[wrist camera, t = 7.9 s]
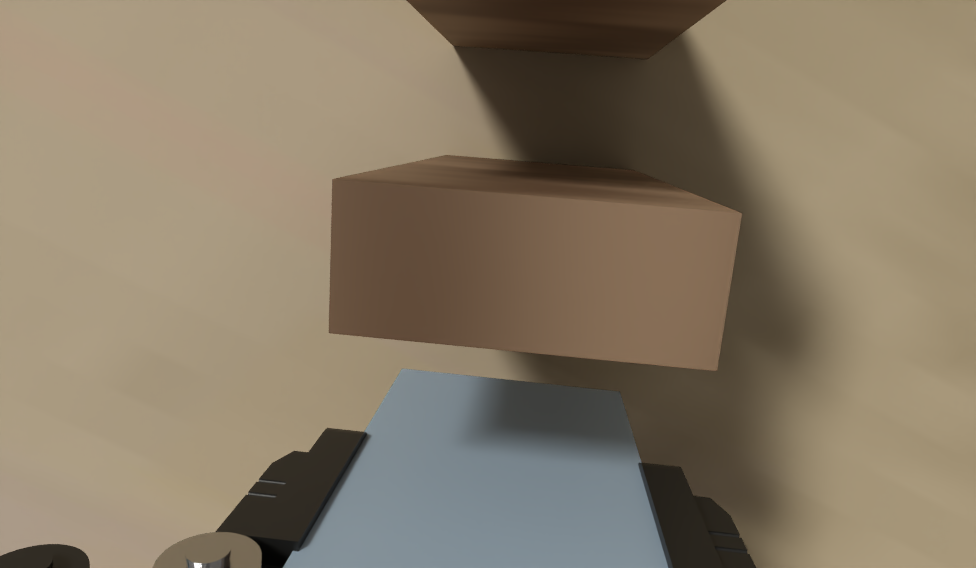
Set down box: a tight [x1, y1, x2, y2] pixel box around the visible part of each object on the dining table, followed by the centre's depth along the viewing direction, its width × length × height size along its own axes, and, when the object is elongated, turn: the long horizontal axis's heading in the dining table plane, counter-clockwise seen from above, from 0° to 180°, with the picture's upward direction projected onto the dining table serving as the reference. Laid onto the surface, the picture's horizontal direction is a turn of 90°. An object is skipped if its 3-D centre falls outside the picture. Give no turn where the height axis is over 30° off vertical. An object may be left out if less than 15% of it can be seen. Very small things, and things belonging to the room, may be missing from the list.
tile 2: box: [329, 155, 742, 371], centre depth 13 cm, size 5×2×10 cm, turn 86°
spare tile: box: [283, 369, 668, 568], centre depth 11 cm, size 5×2×10 cm, turn 85°
